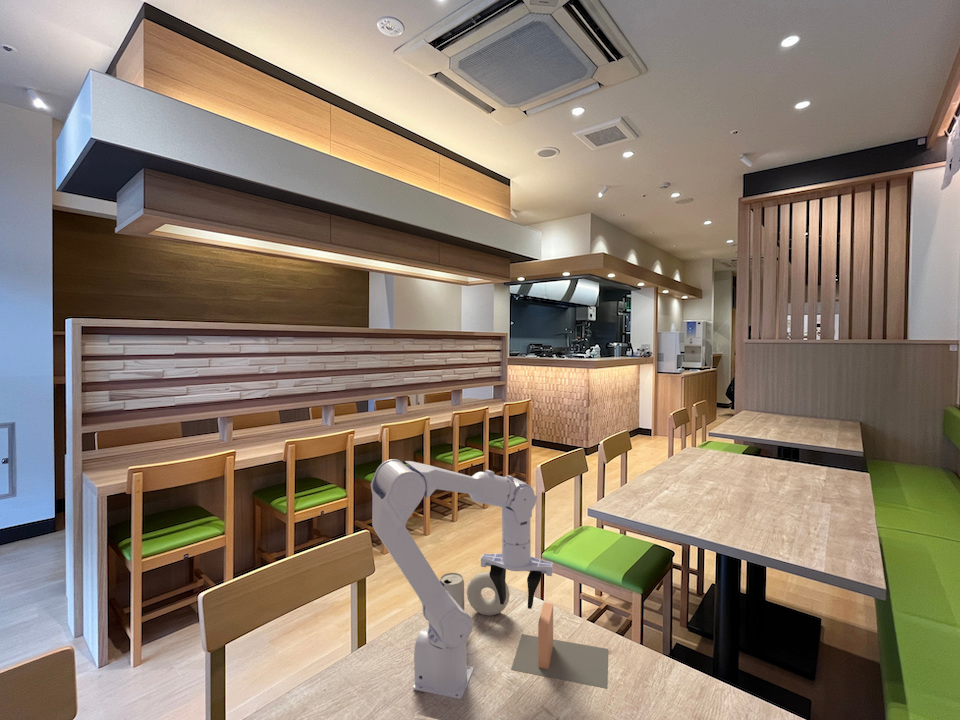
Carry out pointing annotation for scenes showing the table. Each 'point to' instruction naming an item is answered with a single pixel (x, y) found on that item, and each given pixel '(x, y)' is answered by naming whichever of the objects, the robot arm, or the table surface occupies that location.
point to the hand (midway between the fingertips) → (516, 603)
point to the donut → (479, 601)
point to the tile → (545, 636)
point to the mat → (564, 661)
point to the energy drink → (454, 587)
